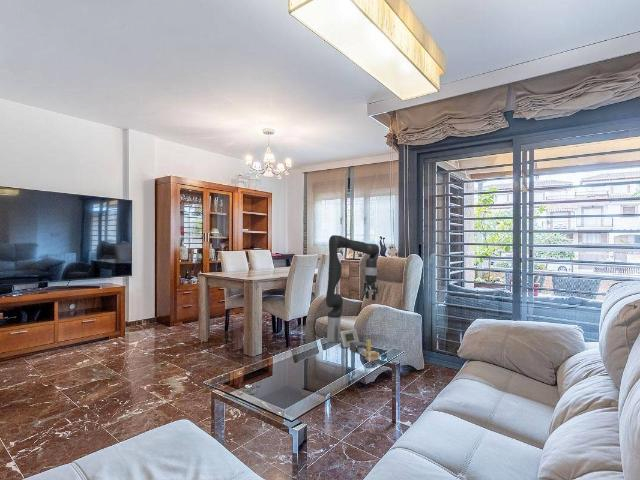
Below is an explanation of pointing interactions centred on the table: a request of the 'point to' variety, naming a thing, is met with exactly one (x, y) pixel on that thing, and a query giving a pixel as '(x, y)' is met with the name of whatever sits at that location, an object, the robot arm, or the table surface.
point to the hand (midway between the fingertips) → (370, 299)
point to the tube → (362, 350)
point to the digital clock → (348, 337)
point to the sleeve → (353, 346)
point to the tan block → (371, 355)
